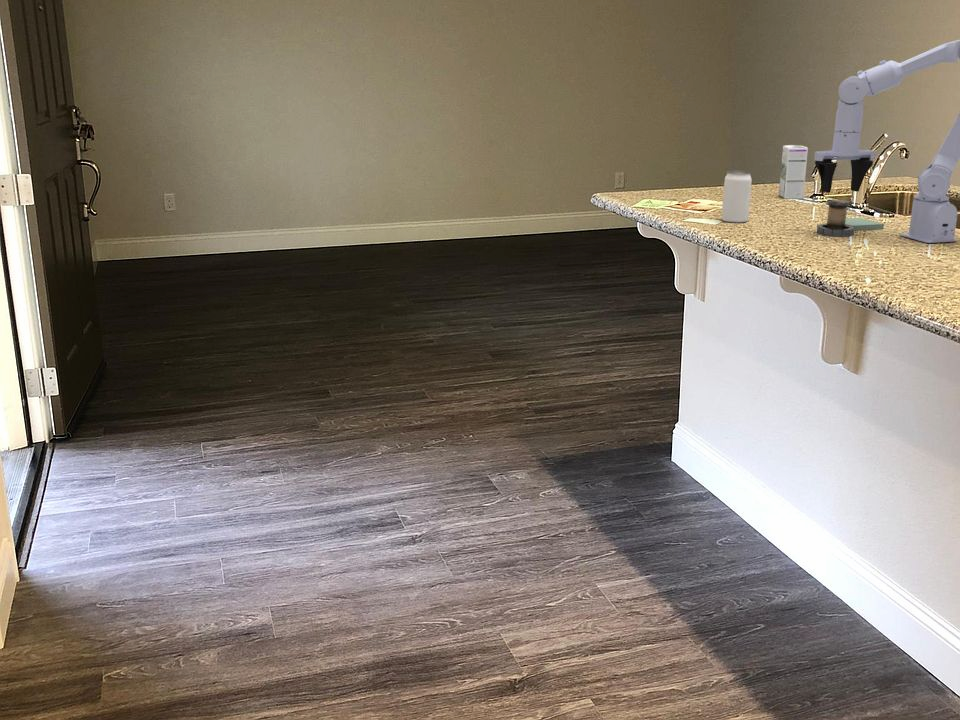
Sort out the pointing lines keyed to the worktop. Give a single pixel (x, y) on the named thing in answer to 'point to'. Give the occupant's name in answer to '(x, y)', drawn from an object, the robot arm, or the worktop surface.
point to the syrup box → (793, 172)
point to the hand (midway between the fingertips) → (840, 191)
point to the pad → (863, 224)
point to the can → (736, 197)
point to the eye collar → (835, 231)
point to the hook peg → (837, 214)
